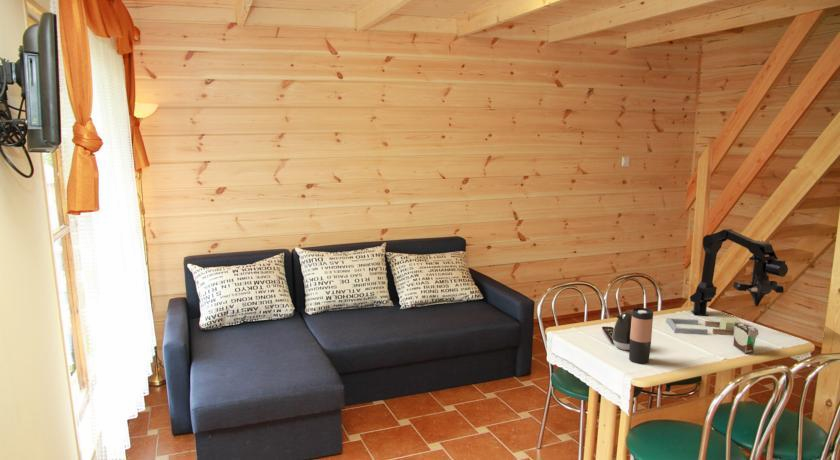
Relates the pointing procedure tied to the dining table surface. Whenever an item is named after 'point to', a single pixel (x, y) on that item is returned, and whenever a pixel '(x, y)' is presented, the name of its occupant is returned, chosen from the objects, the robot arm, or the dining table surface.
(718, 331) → the walnut chute
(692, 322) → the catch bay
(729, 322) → the olive block
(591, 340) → the dining table surface
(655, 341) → the dining table surface
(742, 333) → the food container
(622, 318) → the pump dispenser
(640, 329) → the travel mug
